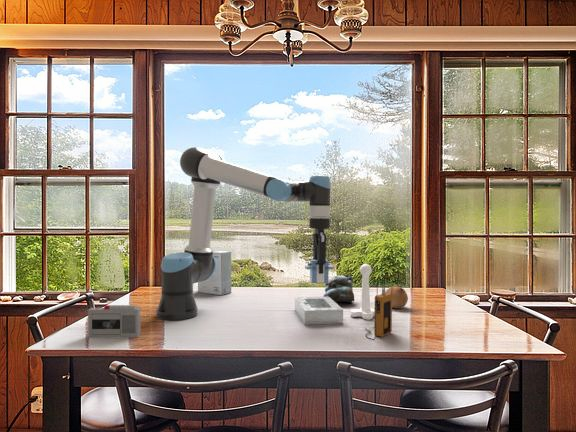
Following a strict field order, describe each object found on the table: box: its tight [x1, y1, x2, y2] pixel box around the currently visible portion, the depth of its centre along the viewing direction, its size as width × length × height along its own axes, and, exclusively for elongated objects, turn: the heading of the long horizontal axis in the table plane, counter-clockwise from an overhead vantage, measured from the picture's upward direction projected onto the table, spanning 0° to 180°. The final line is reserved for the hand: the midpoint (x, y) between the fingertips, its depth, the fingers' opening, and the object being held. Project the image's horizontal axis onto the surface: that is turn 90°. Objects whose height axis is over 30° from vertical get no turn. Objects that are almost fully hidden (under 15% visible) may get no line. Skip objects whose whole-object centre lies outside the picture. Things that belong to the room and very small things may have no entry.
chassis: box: [294, 296, 344, 326], centre depth 163 cm, size 14×22×5 cm, turn 8°
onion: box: [385, 286, 409, 309], centre depth 177 cm, size 10×9×10 cm
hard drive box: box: [197, 250, 232, 296], centre depth 207 cm, size 16×8×20 cm, turn 58°
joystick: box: [350, 263, 374, 320], centre depth 162 cm, size 11×8×20 cm
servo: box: [304, 257, 335, 284], centre depth 158 cm, size 10×4×9 cm, turn 96°
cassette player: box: [87, 304, 142, 339], centre depth 138 cm, size 16×3×10 cm, turn 92°
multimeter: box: [363, 272, 393, 341], centre depth 142 cm, size 15×10×20 cm
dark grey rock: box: [322, 273, 356, 303], centre depth 188 cm, size 15×12×14 cm
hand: (319, 280), depth 158 cm, fingers closed on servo, 4 cm apart
